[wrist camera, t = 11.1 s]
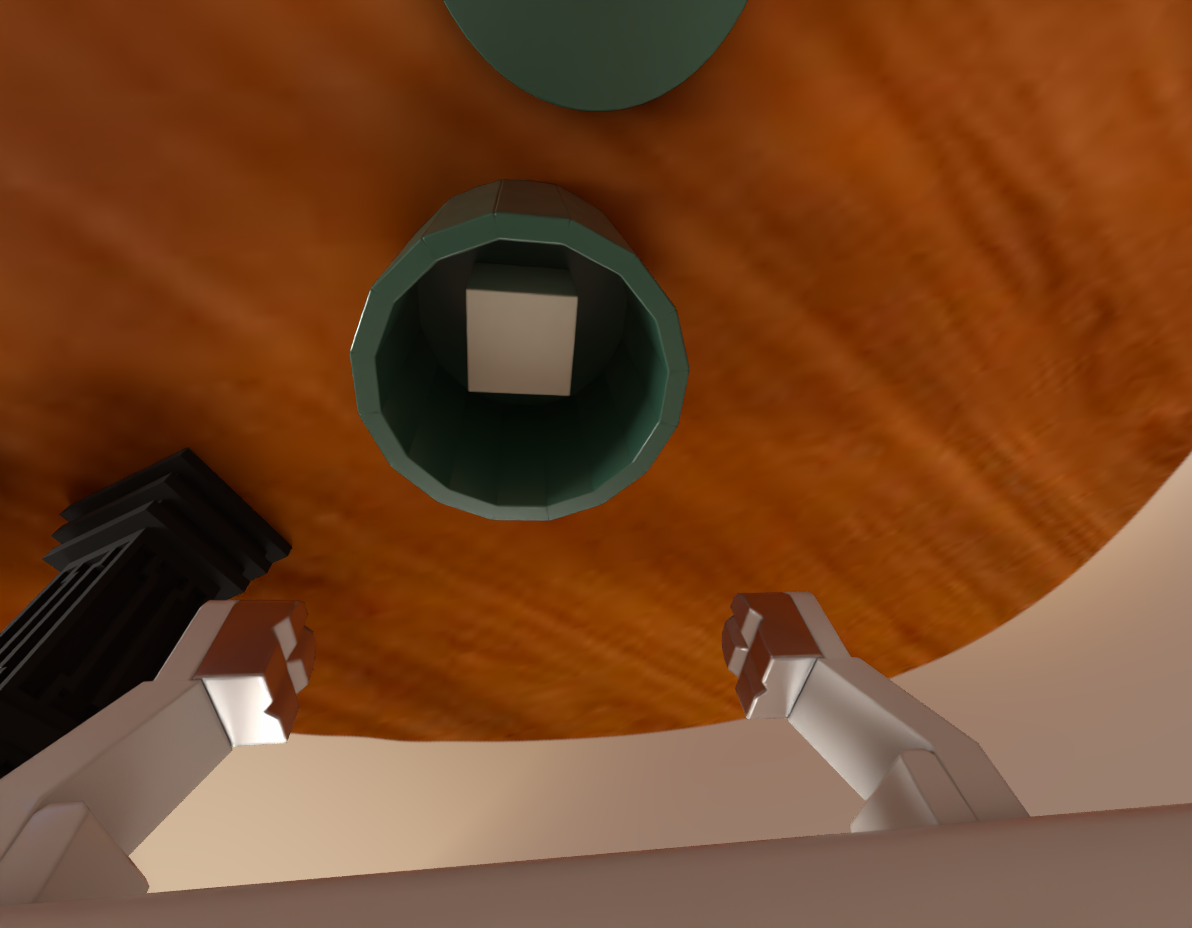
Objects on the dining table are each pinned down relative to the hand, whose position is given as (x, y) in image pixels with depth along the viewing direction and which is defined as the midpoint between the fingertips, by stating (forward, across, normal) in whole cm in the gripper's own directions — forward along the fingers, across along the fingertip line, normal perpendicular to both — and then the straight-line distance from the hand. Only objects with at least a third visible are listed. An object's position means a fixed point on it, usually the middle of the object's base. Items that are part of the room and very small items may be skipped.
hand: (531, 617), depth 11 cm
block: (+20, 0, 0) cm, 20 cm away
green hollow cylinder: (+20, 0, 0) cm, 20 cm away
